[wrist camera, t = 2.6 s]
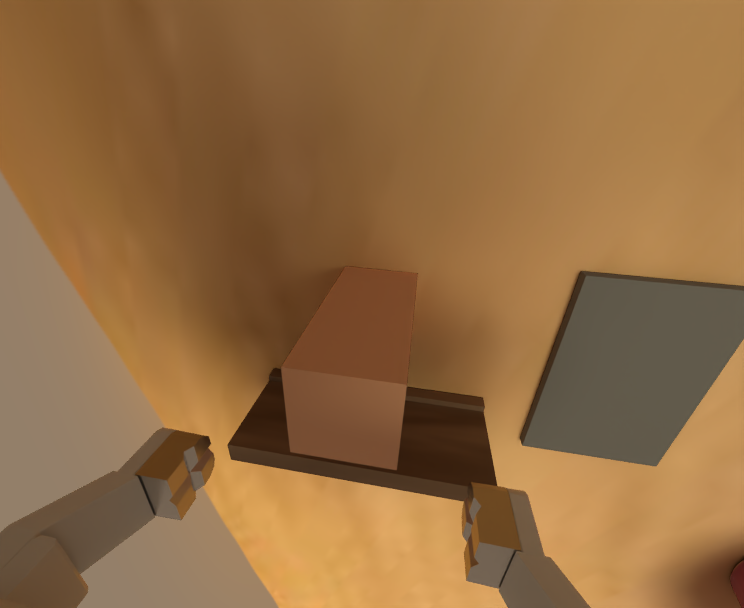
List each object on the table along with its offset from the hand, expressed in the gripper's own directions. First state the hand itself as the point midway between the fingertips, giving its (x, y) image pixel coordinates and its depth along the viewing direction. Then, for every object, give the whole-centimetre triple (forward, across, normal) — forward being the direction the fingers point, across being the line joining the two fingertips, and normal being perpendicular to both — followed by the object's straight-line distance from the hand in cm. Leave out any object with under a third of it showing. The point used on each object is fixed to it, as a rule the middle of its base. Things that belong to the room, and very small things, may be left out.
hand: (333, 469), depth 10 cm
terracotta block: (+10, 0, -1) cm, 10 cm away
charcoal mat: (+10, -14, +2) cm, 18 cm away
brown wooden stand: (+11, 0, +8) cm, 13 cm away
